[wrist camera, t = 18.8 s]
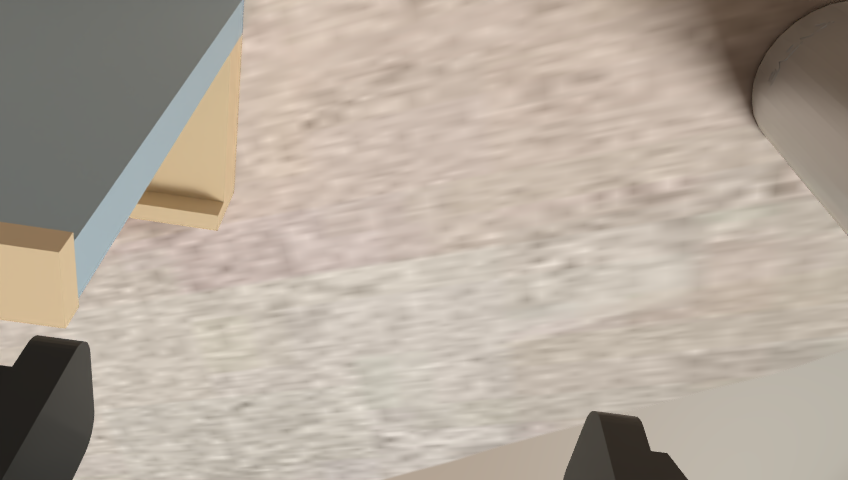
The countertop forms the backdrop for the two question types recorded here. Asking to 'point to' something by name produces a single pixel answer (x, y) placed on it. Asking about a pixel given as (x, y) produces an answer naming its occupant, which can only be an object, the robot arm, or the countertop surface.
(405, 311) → the countertop surface
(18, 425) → the robot arm
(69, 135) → the wall board
